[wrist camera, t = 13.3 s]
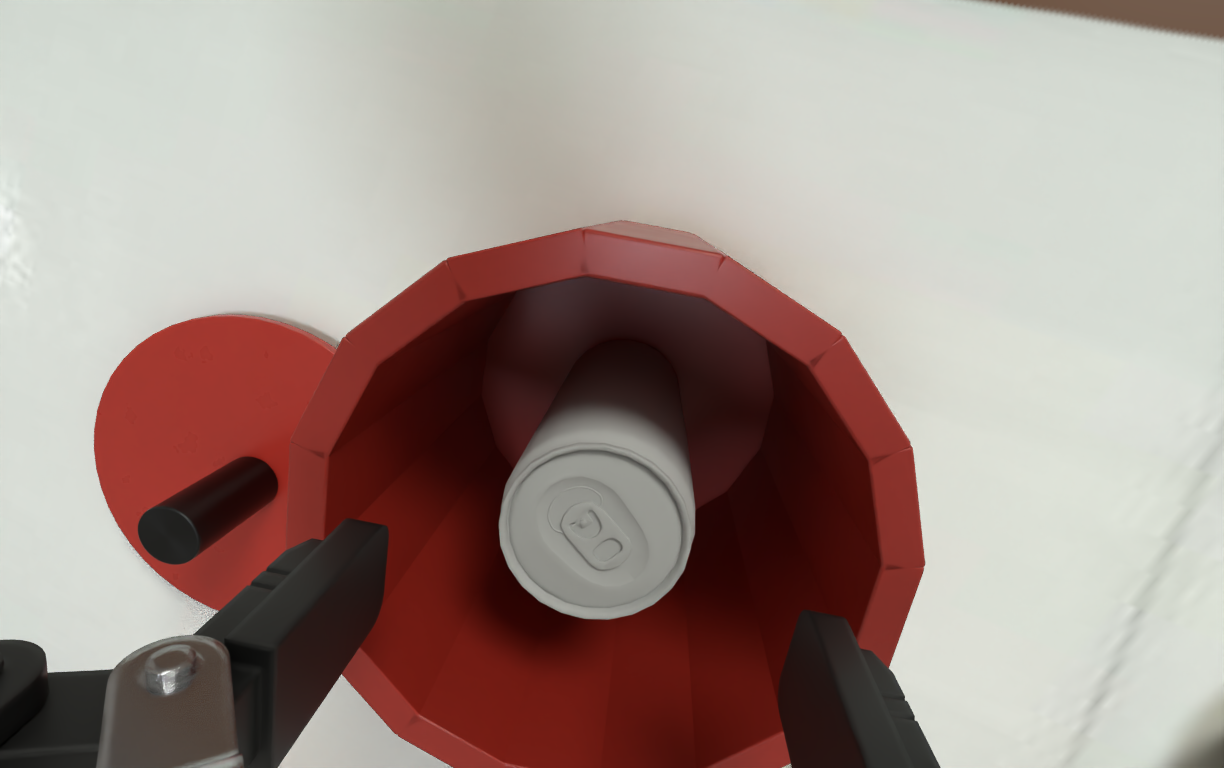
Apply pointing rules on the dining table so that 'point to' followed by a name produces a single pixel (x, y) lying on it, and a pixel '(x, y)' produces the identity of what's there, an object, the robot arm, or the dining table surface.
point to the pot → (722, 484)
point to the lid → (206, 447)
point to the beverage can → (604, 488)
